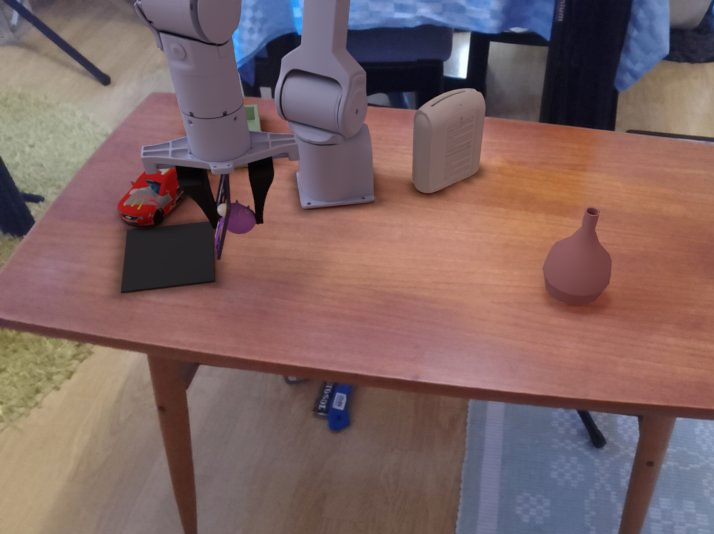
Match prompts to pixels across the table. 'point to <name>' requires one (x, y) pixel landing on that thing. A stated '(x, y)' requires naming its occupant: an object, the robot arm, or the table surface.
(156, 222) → the race car
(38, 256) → the table surface
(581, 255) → the brown bulb vase
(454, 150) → the photo printer
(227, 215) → the purple finned figure
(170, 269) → the charcoal mat
